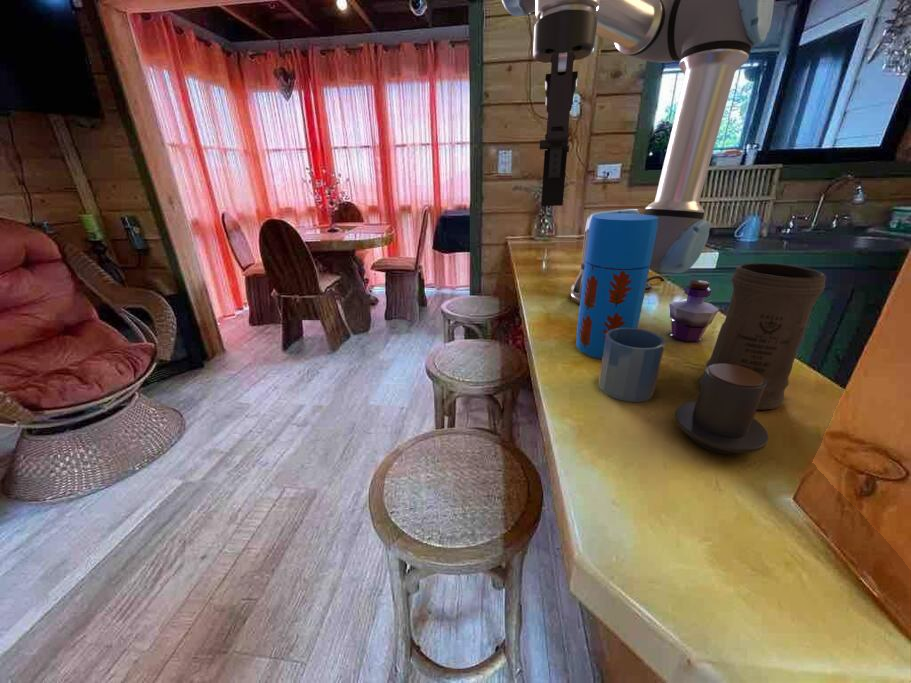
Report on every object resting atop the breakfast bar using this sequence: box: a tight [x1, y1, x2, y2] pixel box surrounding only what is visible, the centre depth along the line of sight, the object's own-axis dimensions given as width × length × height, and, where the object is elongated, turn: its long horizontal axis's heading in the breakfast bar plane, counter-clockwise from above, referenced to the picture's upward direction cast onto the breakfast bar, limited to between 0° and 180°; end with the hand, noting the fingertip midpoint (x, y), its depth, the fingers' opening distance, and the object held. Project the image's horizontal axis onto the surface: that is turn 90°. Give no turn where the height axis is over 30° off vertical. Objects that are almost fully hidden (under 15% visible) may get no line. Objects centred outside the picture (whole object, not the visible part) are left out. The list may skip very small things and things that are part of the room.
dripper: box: [674, 363, 769, 455], centre depth 47 cm, size 10×10×10 cm
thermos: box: [575, 213, 658, 360], centre depth 69 cm, size 11×11×25 cm
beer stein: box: [699, 262, 827, 411], centre depth 57 cm, size 15×11×20 cm
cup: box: [598, 327, 666, 403], centre depth 59 cm, size 8×8×9 cm
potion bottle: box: [669, 279, 720, 343], centre depth 76 cm, size 9×9×12 cm
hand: (552, 201), depth 55 cm, fingers open, 13 cm apart
